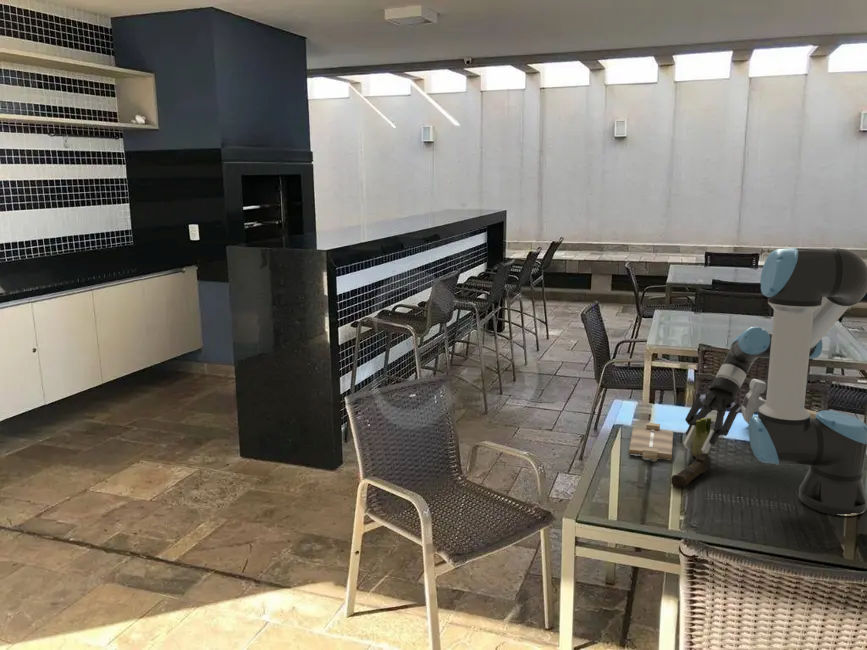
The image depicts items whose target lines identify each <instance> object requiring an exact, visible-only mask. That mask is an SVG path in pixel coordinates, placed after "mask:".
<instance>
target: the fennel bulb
mask: <svg viewBox="0 0 867 650" xmlns="http://www.w3.org/2000/svg"><path fill="white" fill-rule="evenodd" d="M711 424H712V418H711V417H705V418H702V419H701V420H696V431H695V437H694V439H693V441H692V446H691V451H690V452H691V455H692V456H693V457H694V458H696V457H697V456H699V455H701V454H704V453H703V452H702V450H701V449H702V447H703V445H704V443H705V441H706V439H707V437H708V435H709V433H710V431H711V426H712V425H711ZM707 454H708V457H709V456H710V455H711V448H710V449H709V451H708V453H707Z"/></svg>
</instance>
